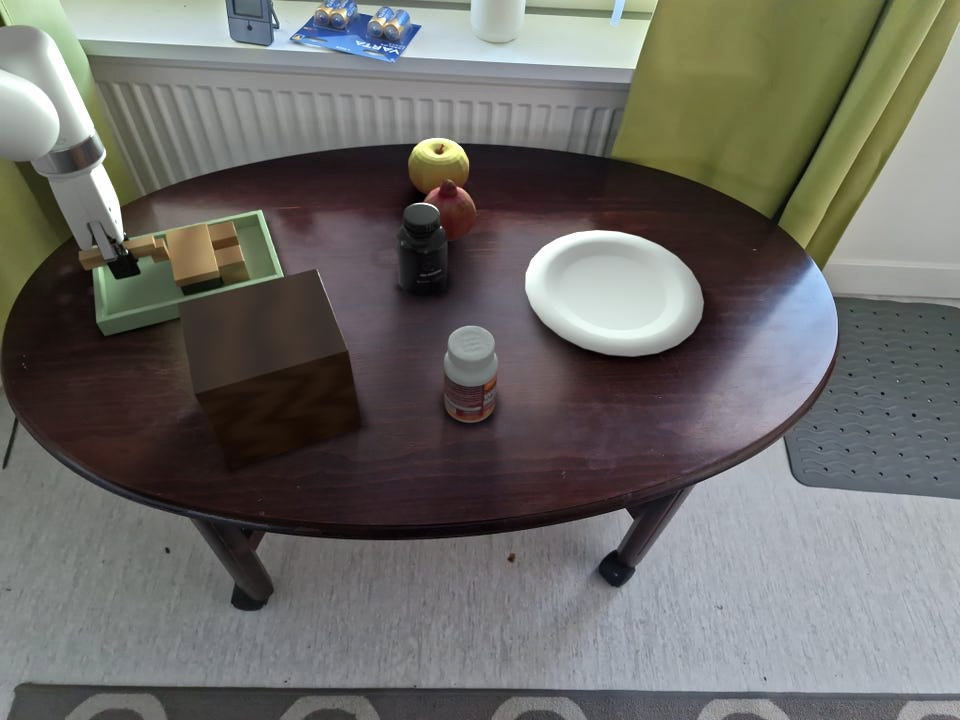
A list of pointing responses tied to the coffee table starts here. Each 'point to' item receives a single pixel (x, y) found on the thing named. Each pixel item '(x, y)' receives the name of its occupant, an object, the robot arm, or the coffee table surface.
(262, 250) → the tray
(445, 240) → the supplement bottle
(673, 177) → the coffee table surface
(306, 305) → the stand
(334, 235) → the coffee table surface
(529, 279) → the plate
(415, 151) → the apple
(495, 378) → the pill bottle
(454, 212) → the fruit
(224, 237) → the brown cube
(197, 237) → the brush
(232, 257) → the cork block
